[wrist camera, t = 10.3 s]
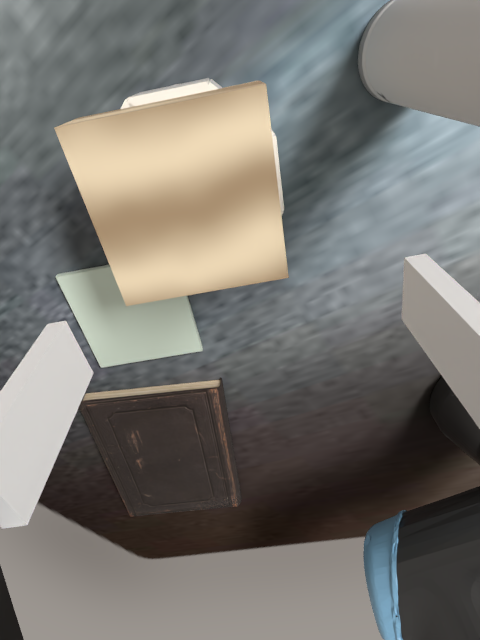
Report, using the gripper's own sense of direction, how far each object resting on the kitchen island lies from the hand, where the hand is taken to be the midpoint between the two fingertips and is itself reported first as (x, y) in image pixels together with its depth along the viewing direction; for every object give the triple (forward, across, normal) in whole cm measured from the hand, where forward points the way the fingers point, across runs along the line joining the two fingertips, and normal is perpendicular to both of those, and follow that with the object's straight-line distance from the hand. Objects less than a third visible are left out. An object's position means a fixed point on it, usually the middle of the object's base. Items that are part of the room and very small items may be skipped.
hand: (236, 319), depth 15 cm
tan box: (+14, +2, -2) cm, 14 cm away
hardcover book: (+21, +14, +31) cm, 40 cm away
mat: (+20, +12, +10) cm, 25 cm away
